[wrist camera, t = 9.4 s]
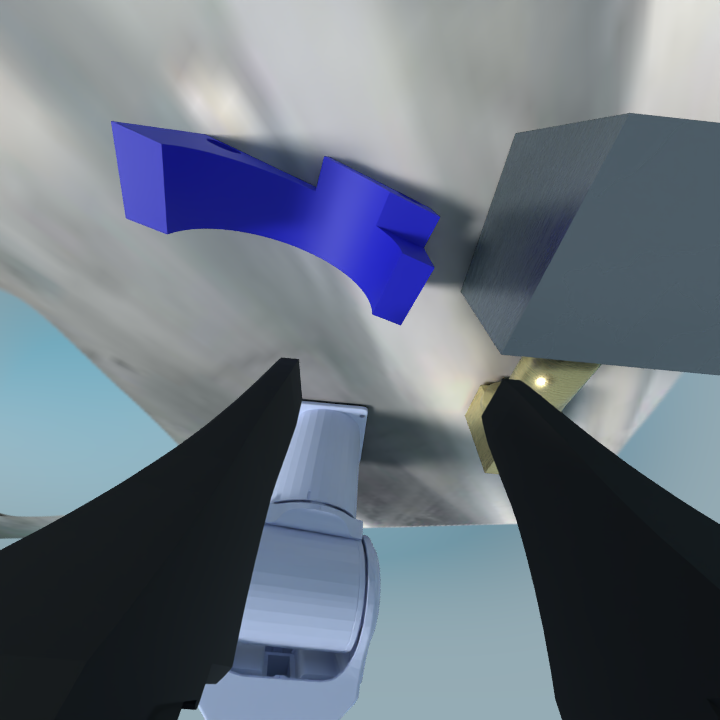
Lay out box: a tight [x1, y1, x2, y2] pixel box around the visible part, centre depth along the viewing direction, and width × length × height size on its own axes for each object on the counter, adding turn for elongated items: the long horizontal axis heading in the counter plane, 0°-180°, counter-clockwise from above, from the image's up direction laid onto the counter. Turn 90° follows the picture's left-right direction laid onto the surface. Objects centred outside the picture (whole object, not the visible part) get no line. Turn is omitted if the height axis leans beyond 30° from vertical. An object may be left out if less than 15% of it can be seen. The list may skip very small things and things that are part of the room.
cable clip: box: [111, 121, 440, 325], centre depth 12 cm, size 12×4×6 cm, turn 68°
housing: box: [461, 113, 720, 375], centre depth 12 cm, size 9×12×7 cm
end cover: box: [465, 357, 601, 474], centre depth 19 cm, size 10×6×6 cm, turn 175°
